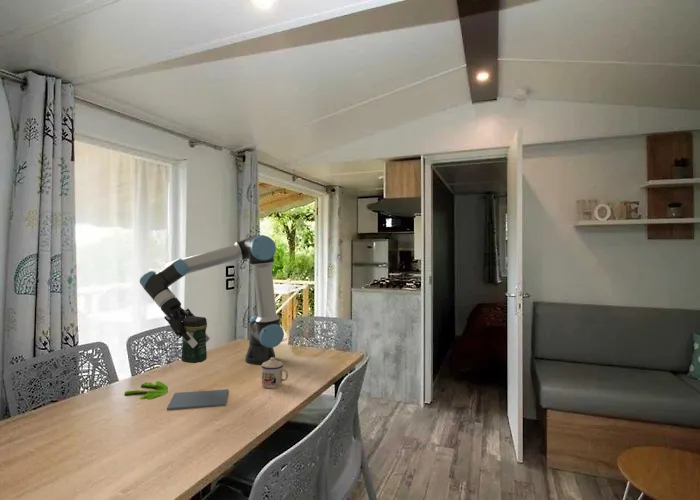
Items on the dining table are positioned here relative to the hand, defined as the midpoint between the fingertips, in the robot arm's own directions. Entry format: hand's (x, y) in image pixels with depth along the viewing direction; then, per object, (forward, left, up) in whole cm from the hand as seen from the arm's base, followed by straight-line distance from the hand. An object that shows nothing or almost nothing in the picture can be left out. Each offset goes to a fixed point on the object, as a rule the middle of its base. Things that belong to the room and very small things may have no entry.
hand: (201, 343), depth 160 cm
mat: (-1, +13, -18) cm, 23 cm away
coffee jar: (+3, -2, -8) cm, 9 cm away
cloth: (+21, -2, -19) cm, 29 cm away
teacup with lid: (-30, +3, -19) cm, 36 cm away
